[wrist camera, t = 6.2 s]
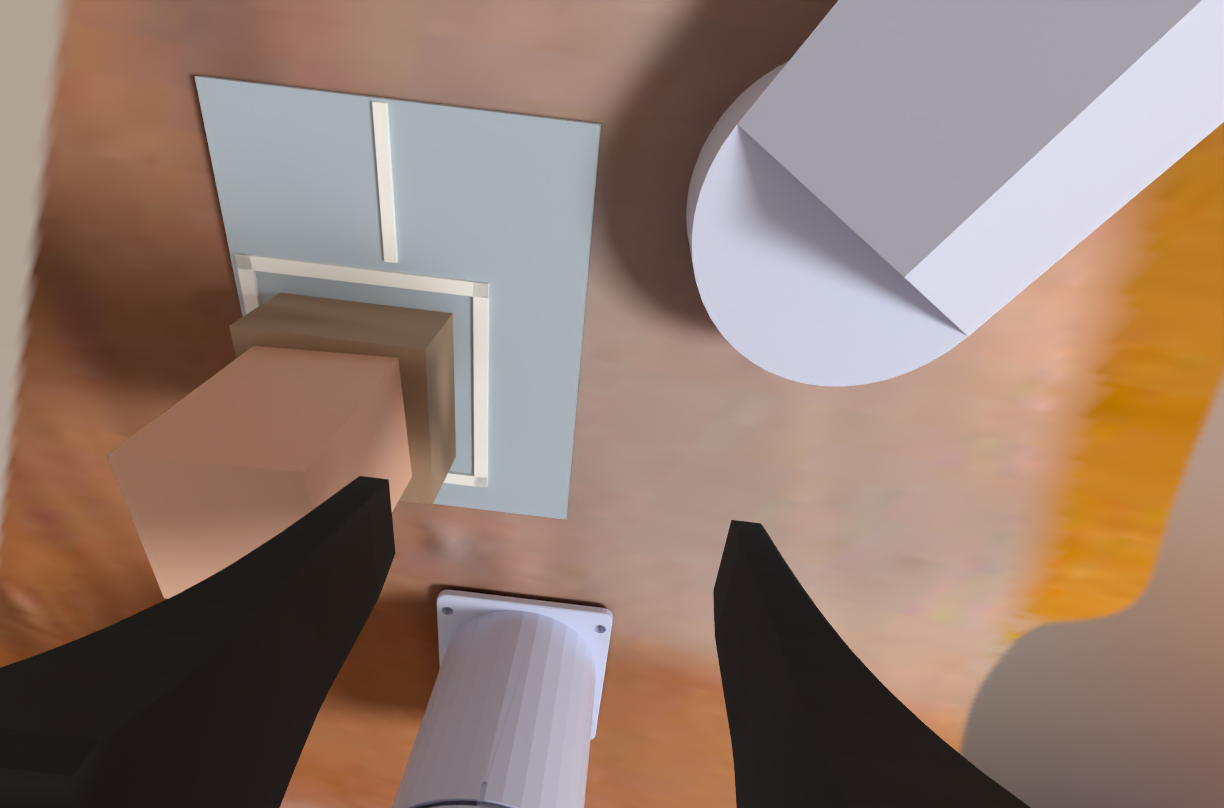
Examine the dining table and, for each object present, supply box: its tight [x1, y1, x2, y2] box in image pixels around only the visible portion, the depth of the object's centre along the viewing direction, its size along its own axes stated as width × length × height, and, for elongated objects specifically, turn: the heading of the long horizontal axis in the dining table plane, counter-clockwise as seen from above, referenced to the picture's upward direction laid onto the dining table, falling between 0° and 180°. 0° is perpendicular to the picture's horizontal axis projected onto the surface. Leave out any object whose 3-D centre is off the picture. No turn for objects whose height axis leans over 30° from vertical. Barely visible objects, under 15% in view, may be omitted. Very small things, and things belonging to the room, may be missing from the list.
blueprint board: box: [195, 76, 601, 519], centre depth 22 cm, size 15×12×1 cm
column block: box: [107, 346, 412, 599], centre depth 18 cm, size 4×4×6 cm
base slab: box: [229, 293, 456, 505], centre depth 22 cm, size 6×6×3 cm
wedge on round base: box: [686, 0, 1224, 386], centre depth 16 cm, size 9×7×13 cm
